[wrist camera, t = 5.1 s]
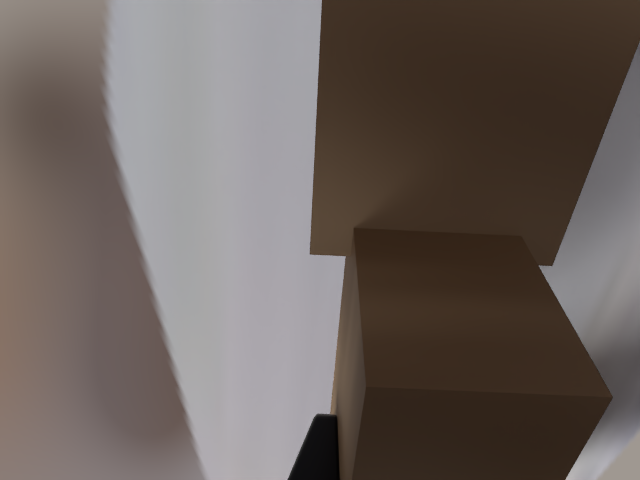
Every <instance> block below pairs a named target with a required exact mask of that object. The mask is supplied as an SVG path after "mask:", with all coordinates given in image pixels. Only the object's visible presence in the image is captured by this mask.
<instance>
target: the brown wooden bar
mask: <svg viewBox="0 0 640 480" xmlns="http://www.w3.org/2000/svg"><path fill="white" fill-rule="evenodd" d="M639 41H640V0H322V12H321V33H320V54H319V75H318V95H317V116H316V137H315V158H314V178H313V199H312V220H311V241H310V254H312V255H333V256H346V259H345V269H344V279H343V289H342V299H341V310H340V320H339V330H338V340H337V350H336V361H335V371H334V381H333V391H332V401H331V412H330V414H335V415H337V421H338V446H339V471H340V480H565V479H566V477H567V476H568V474H569V472H570V470H571V469H572V467H573V465H574V464H575V462H576V460H577V458H578V457H579V455H580V453H581V451H582V450H583V448H584V446H585V445H586V443H587V441H588V439H589V438H590V436H591V434H592V433H593V431H594V429H595V427H596V426H597V424H598V422H599V421H600V419H601V417H602V415H603V414H604V412H605V410H606V408H607V407H608V405H609V403H610V402H611V400H612V398H613V396H612V395H611V393H610V391H609V389H608V388H607V386H606V384H605V382H604V381H603V379H602V377H601V375H600V374H599V372H598V370H597V368H596V367H595V365H594V363H593V361H592V359H591V358H590V356H589V354H588V352H587V351H586V349H585V347H584V345H583V344H582V342H581V340H580V338H579V337H578V335H577V333H576V331H575V330H574V328H573V326H572V324H571V323H570V321H569V319H568V317H567V316H566V314H565V312H564V310H563V308H562V307H561V305H560V303H559V301H558V300H557V298H556V296H555V294H554V293H553V291H552V289H551V287H550V286H549V284H548V282H547V280H546V279H545V277H544V275H543V273H542V272H541V270H540V268H539V266H538V265H543V266H552V265H553V262H554V260H555V257H556V255H557V252H558V250H559V247H560V244H561V242H562V239H563V237H564V234H565V232H566V229H567V227H568V224H569V221H570V219H571V216H572V214H573V211H574V209H575V206H576V203H577V201H578V198H579V196H580V193H581V191H582V188H583V185H584V183H585V180H586V178H587V175H588V173H589V170H590V167H591V165H592V162H593V160H594V157H595V155H596V152H597V149H598V147H599V144H600V142H601V139H602V137H603V134H604V131H605V129H606V126H607V124H608V121H609V119H610V116H611V113H612V111H613V108H614V106H615V103H616V101H617V98H618V95H619V93H620V90H621V88H622V85H623V83H624V80H625V77H626V75H627V72H628V70H629V67H630V65H631V62H632V59H633V57H634V54H635V52H636V49H637V47H638V44H639Z"/></svg>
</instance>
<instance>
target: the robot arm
mask: <svg viewBox="0 0 640 480" xmlns="http://www.w3.org/2000/svg"><path fill="white" fill-rule="evenodd" d="M288 480H340V471H339V446H338V421H337V415H335V414H317V415H316V416H315V417H314V419H313V421H312V423H311V426H310V428H309V431H308V433H307V435H306V438H305V440H304V442H303V445H302V447H301V449H300V452H299V454H298V456H297V459H296V461H295V463H294V466H293V468H292V471H291V473H290V475H289V478H288Z"/></svg>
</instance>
